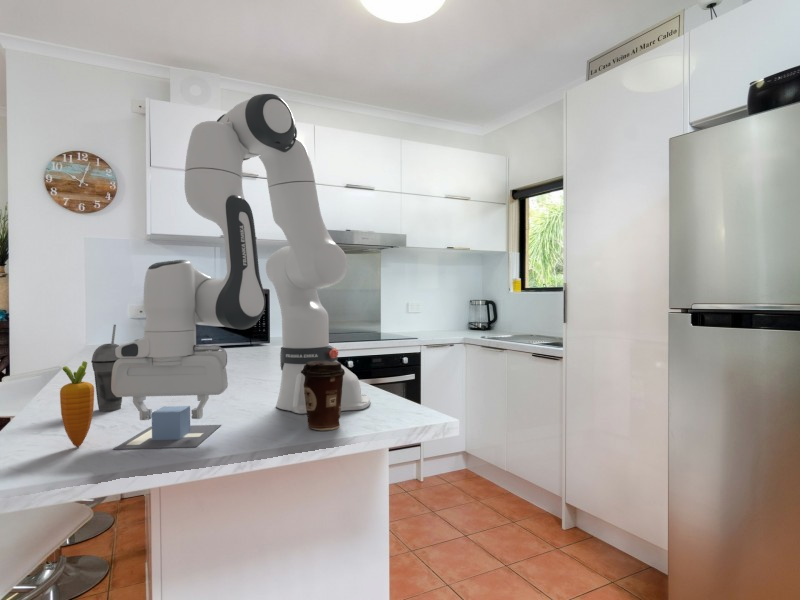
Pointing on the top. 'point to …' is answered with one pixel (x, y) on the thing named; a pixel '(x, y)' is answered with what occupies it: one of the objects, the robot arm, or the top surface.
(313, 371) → the coffee cup
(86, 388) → the carrot
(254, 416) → the top surface
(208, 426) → the letter mat
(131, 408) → the top surface
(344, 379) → the robot arm
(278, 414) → the top surface
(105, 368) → the beverage cup
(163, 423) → the slate cube
